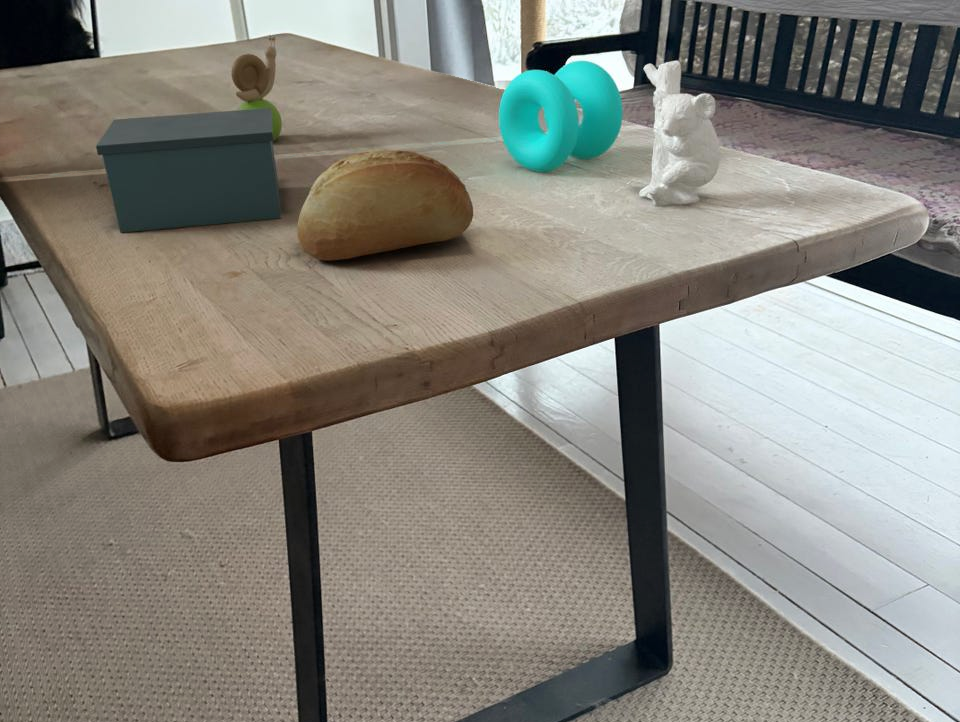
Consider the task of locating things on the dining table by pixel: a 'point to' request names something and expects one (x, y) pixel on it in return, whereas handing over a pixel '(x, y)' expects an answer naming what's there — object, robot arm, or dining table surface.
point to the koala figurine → (680, 139)
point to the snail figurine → (257, 83)
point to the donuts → (560, 115)
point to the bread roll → (382, 205)
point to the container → (191, 169)
